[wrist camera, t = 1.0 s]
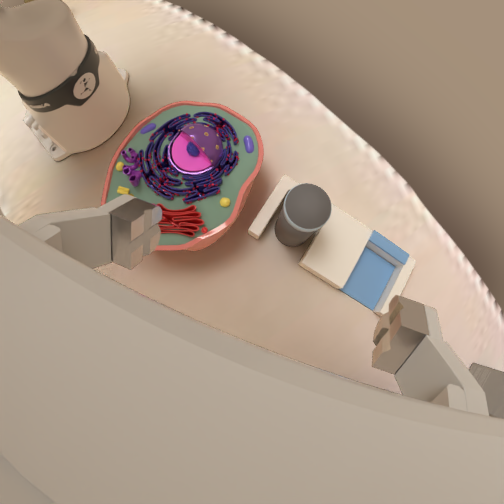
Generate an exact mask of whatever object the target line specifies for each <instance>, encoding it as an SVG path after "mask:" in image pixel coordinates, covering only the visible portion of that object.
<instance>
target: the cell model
mask: <svg viewBox="0 0 504 504" xmlns="http://www.w3.org/2000/svg"><path fill="white" fill-rule="evenodd" d="M263 154H264V153H263V144H262V140H261V136H260V134H259V132H258V130H257V128H256V127H255V126H254V125H253V124H252V123H251V122H250V121H248V120H247V119H246V118H244V117H243V116H241V115H240V114H238V113H236V112H235V111H233V110H231V109H230V108H228V107H226V106H223V105H221V104H216V103H200V102H193V101H180V102H175V103H171V104H169V105H166V106H164V107H162V108H160V109H159V110H158V111H156V112H155V113H153V114H152V115H150V116H148V117H147V118H145V119H144V120H142V121H140V122H139V123H138V124H137V125H136V126H135V127H134V128H133V129H132V130H131V132H130V133H129V134H128V135H127V137H126V138H125V139H124V141H123V142H122V143H121V145H120V146H119V148H118V150H117V151H116V153H115V154H114V156H113V159H112V161H111V163H110V166H109V169H108V173H107V177H106V181H105V185H104V190H103V194H102V200H101V206H102V205H104V204H106V203H108V202H110V201H112V200H113V199H115V198H117V197H119V196H121V195H123V194H127V195H131V196H134V197H137V198H139V199H141V200H144V201H147V202H149V203H152V204H154V205H157V206H160V207H161V209H162V220H161V221H160V222H159V223H158V225H159V228H160V230H161V235H160V240H159V243H158V245H157V247H156V248H155V250H189V251H197V250H201V249H204V248H206V247H208V246H210V245H211V244H213V243H214V242H215V241H217V240H218V239H219V238H220V237H221V236H222V235H224V234H225V233H226V232H227V231H228V230H229V229H230V227H231V226H232V225H233V223H234V222H235V221H236V219H237V218H238V216H239V215H240V213H241V211H242V209H243V208H244V205H245V203H246V200H247V197H248V195H249V193H250V190H251V188H252V185H253V182H254V179H255V177H256V175H257V174H258V172H259V170H260V167H261V164H262V161H263Z"/></svg>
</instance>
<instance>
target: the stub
mask: <svg viewBox="0 0 504 504" xmlns="http://www.w3.org/2000/svg"><path fill="white" fill-rule="evenodd" d="M331 211H332V206H331V201H330V199H329V197H328V195H327V194H326V192H325V191H324V190H323V189H321V188H320V187H318V186H316V185H313V184H308V183H305V184H299V185H297V186H295V187H293V188H292V189H291V190H290V191H289V192H288V194H287V195H286V198H285V200H284V203H283V207H282V210H281V212H280V214H279V217H278V219H277V221H276V224H275V234H276V237H277V238H278V240H279V241H280V242H281V243H283V244H284V245H286V246H291V247H294V246H298V245H301V244H302V243H303V242H305V241H306V240H307V239H308V238H309V237H310V236H311V235H312V234H313V233H314V232H315V231H316V230H318V229H320V228H321V227H322V226H323V225H324V224H325V223H326V222H327V221H328V220H329V218H330V215H331Z"/></svg>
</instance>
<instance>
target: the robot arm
mask: <svg viewBox="0 0 504 504" xmlns="http://www.w3.org/2000/svg"><path fill="white" fill-rule="evenodd" d="M2 1H3V0H0V5H1V3H2ZM0 74H1V75H2V76H3V77H5V78H6V79H7V80H8V81H9V82H10V83H11V84H12V85H14V86H15V87H16V88H17V89H18V93H19V95H20V97H21V98H22V103H23V105H24V106H25V107H26V109H27V111H26V114H25V117H24V119H23V121H24V123H25V124H26V125H27V126H28V127H30V129H31V130H32V131H33V133H34V134H35V136H36V137H37V138H38V140H39V141H40V142H41V144H42V145H43V146H44V148H45V149H46V150H47V152H48V153H49V154H50V155H51V157H52V158H53V159H54V160H55V161H60V160H62V159H64V158H66V157H68V156H69V155H71V154H73V153H78V152H83V151H87V150H90V149H92V148H95V147H97V146H98V145H100V144H102V143H103V142H105V141H106V140H107V139H108V138H110V137H111V136H112V135H113V134H114V133H115V132H116V131H117V129H118V128H119V127H120V126H121V124H122V123H123V121H124V119H125V117H126V115H127V112H128V109H129V104H130V97H129V92H128V89H127V82H128V76H129V75H128V73H127V71H126V70H124V69H118V68H116V66H115V65H114V63H113V62H112V60H111V59H110V57H109V56H108V54H107V53H106V52H104V51H103V52H101V51H97V49H96V47H95V45H94V43H93V42H92V41H91V40H90V39H89V37H88V36H86V35H84V34H83V32H82V30H81V29H80V27H79V25H78V23H77V21H76V19H75V18H74V16H73V14H72V12H71V10H70V8H69V7H68V6H67V5H66V4H65V3H64V2H63V1H61V0H34V1H31V2H28V3H25V4H23V5H20V6H16V7H11V8H4V7H0ZM55 149H56V150H55ZM161 220H162V209H161V207H160V206H157V205H154V204H152V203H149V202H147V201H144V200H141V199H139V198H137V197H134V196H131V195H127V194H123V195H121V196H119V197H117V198H115V199H113V200H112V201H110V202H108V203H106V204H104V205H102V206H100V207H98V208H97V209H96V208H94V207H92V208H84V209H76V210H68V211H61V212H53V213H46V214H39V215H35V216H34V217H32V218H30V219H28V220H26V221H25V222H23V223H21V224H19V225H16V224H14V223H13V222H11V221H10V220H8V219H6V218H5V217H3V216H2V215H0V504H504V419H502V418H496V417H491V416H489V413H488V407H487V401H486V396H485V392H484V391H483V389H482V388H481V386H480V385H479V384H478V382H477V381H476V380H475V378H474V377H473V375H472V374H471V373H470V371H469V370H468V369H467V367H466V366H465V365H464V363H463V362H462V361H461V360H460V358H459V357H458V356H457V354H456V353H455V352H454V351H453V349H452V348H451V347H450V345H449V344H448V343H447V342H445V341H443V337H442V332H441V327H440V323H439V318H438V314H437V310H436V309H435V308H433V307H430V306H427V305H424V304H421V303H418V302H415V301H413V300H410V299H407V298H404V297H401V296H398V295H395V296H394V297H393V298H392V300H391V301H390V303H389V312H387V313H385V314H383V315H382V316H381V318H380V320H379V321H378V323H377V326H376V328H375V332H374V337H373V342H374V344H375V345H376V347H375V349H374V350H373V356H372V367H374V368H377V369H380V370H383V371H386V372H389V373H391V374H394V376H395V379H396V381H397V383H398V385H399V387H400V389H401V392H402V394H403V395H401V394H397V393H394V392H390V391H387V390H383V389H380V388H377V387H374V386H370V385H367V384H364V383H361V382H358V381H354V380H351V379H348V378H345V377H342V376H339V375H336V374H333V373H330V372H327V371H324V370H322V369H319V368H316V367H313V366H310V365H307V364H305V363H302V362H299V361H296V360H294V359H291V358H288V357H286V356H283V355H280V354H278V353H275V352H272V351H270V350H267V349H265V348H262V347H260V346H257V345H255V344H252V343H250V342H247V341H245V340H242V339H240V338H237V337H235V336H233V335H230V334H228V333H225V332H223V331H221V330H218V329H216V328H214V327H211V326H209V325H207V324H205V323H202V322H200V321H198V320H196V319H193V318H191V317H189V316H187V315H184V314H182V313H180V312H178V311H176V310H174V309H171V308H169V307H167V306H165V305H163V304H161V303H159V302H157V301H155V300H152V299H150V298H148V297H146V296H144V295H142V294H140V293H138V292H136V291H134V290H132V289H130V288H128V287H126V286H124V285H122V284H120V283H118V282H116V281H114V280H113V279H111V278H109V277H107V276H105V275H103V274H101V273H99V272H97V271H95V270H94V269H93V268H96V267H99V266H102V265H105V264H108V263H111V262H114V263H116V264H119V265H121V266H123V267H125V268H128V269H130V270H132V269H133V268H134V267H135V266H136V265H138V264H139V263H140V262H141V261H142V257H143V256H144V255H149V254H151V253H152V252H153V251H154V250H155V248H156V247H157V245H158V243H159V240H160V235H161V230H160V228H159V225H158V223H159V222H160V221H161Z"/></svg>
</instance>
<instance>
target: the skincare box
mask: <svg viewBox="0 0 504 504" xmlns="http://www.w3.org/2000/svg"><path fill="white" fill-rule="evenodd" d="M469 371H470V373H471V374H472V375H473V377H474V378H475V380H476V381H477V382H478V384H479V385H480V386H481V388H482V389H483V391H484V392H485V396H486V401H487V407H488V413H489V416H491V417H496V418H502V419H504V372H502V371H499V370H495V369H492V368H489V367H485V366H482V365H479V364H476V363H472V365H471V367H470V369H469Z"/></svg>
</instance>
